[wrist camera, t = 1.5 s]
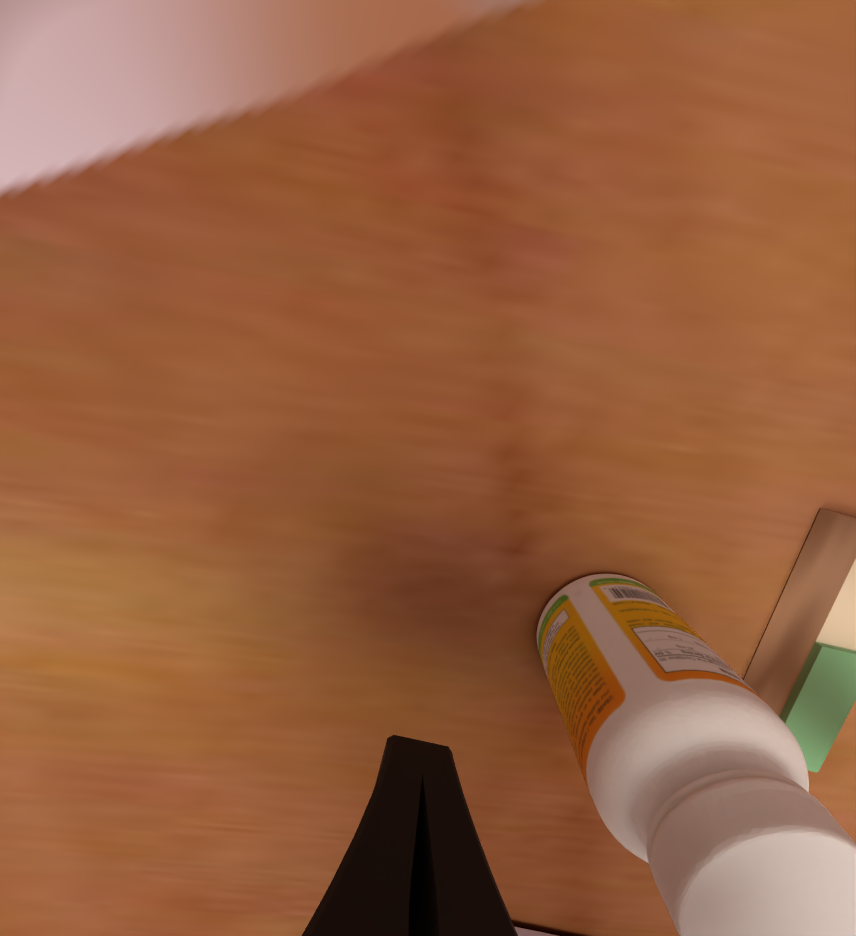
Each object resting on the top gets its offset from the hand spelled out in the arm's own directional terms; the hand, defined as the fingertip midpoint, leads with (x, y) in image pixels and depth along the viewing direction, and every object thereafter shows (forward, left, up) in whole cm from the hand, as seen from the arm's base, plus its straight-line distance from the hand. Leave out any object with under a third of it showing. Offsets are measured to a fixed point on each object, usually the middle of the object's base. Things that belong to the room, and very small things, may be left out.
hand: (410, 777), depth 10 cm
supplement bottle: (0, -8, -9) cm, 11 cm away
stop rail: (0, -15, -9) cm, 17 cm away
